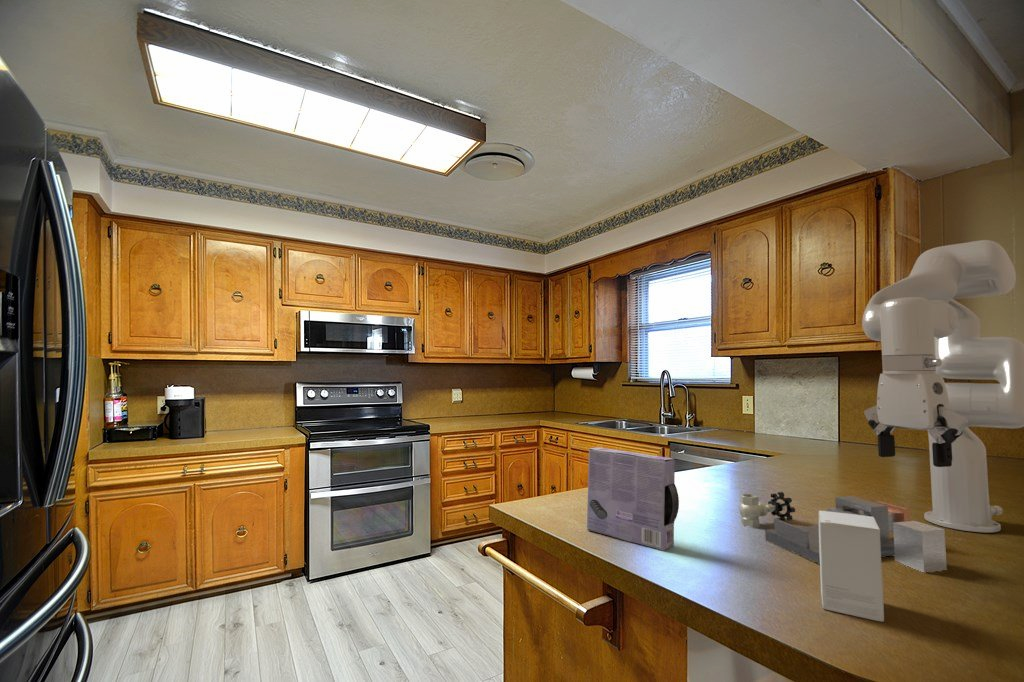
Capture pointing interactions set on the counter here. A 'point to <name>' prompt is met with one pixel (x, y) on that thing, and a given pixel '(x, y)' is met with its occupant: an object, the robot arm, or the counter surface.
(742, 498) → the valve
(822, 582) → the supplement box
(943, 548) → the block
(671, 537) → the cake pan box
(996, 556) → the counter surface
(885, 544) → the press bed
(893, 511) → the ram
